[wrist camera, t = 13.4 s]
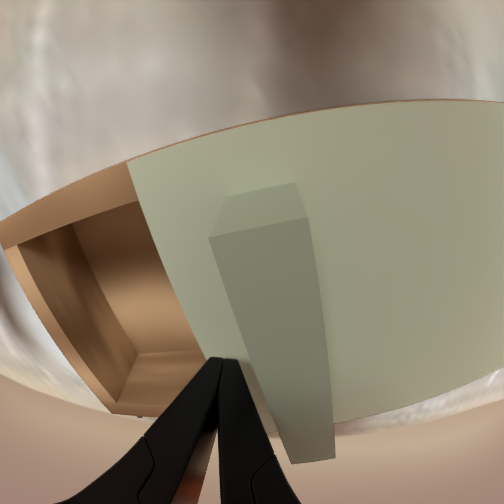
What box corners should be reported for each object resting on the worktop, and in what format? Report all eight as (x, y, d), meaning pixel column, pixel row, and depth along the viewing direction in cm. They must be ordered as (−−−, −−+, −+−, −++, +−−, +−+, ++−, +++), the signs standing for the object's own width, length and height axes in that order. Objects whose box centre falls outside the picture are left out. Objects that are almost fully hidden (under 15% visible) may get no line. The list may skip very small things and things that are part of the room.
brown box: (55, 191, 13) (-7, 226, 9) (466, 99, 10) (535, 106, 5) (141, 364, 19) (118, 420, 14) (460, 308, 15) (496, 360, 11)
